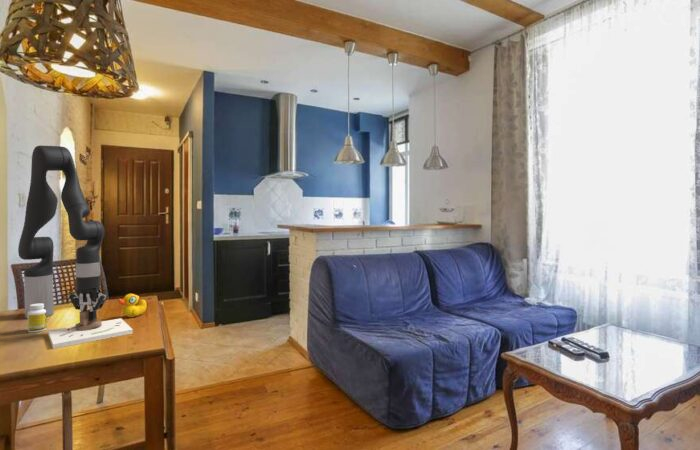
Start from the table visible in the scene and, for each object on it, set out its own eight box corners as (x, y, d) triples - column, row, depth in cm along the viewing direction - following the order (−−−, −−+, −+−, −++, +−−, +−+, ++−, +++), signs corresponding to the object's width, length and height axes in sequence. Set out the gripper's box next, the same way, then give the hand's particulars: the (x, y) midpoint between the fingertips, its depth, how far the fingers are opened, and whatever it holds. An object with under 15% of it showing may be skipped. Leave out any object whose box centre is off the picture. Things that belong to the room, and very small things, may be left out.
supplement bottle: (48, 330, 139) (48, 304, 138) (30, 333, 134) (29, 307, 134) (43, 327, 142) (43, 301, 142) (25, 330, 137) (24, 304, 137)
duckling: (122, 321, 151) (121, 296, 150) (115, 319, 154) (114, 295, 153) (149, 314, 161) (149, 291, 160) (142, 312, 163) (142, 290, 163)
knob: (89, 322, 143) (89, 306, 143) (106, 324, 141) (106, 308, 141) (59, 332, 131) (58, 315, 131) (77, 334, 130) (77, 317, 129)
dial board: (47, 334, 134) (47, 329, 134) (121, 321, 150) (121, 317, 150) (53, 348, 121) (53, 343, 121) (132, 333, 137) (132, 328, 137)
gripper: (61, 276, 134) (62, 323, 135) (99, 276, 133) (99, 324, 134) (77, 272, 141) (78, 317, 142) (113, 273, 141) (113, 318, 142)
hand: (88, 320), depth 138 cm, fingers closed on knob, 2 cm apart
